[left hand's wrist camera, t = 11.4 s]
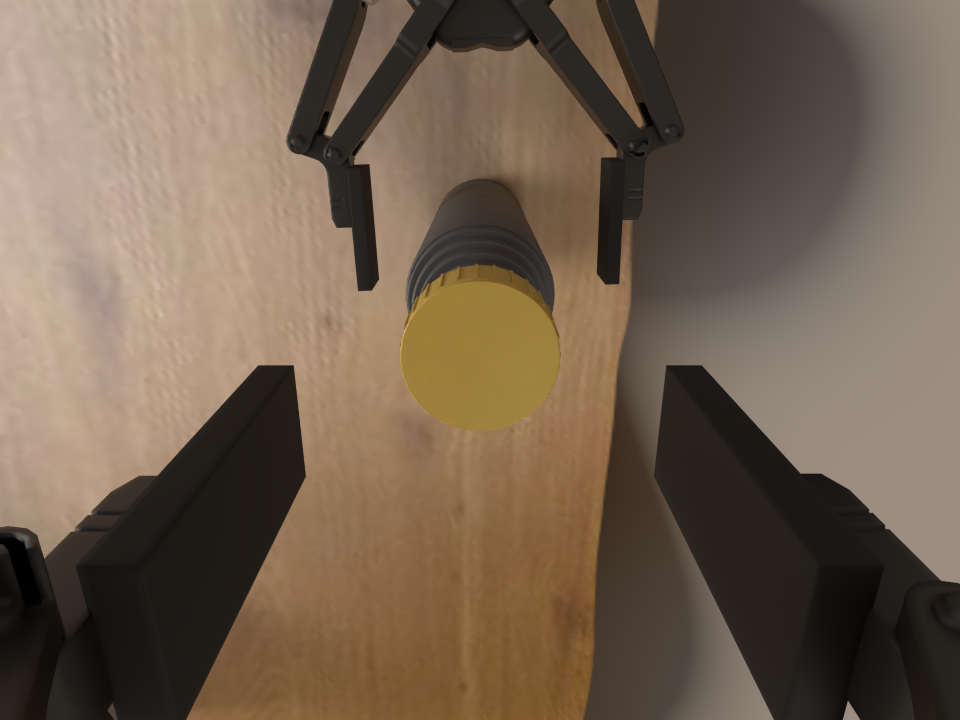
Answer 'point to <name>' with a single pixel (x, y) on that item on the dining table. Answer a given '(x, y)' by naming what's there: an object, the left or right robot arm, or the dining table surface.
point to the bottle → (480, 239)
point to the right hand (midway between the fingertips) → (488, 282)
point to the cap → (480, 348)
